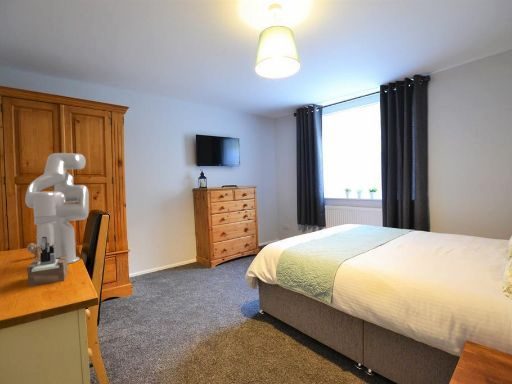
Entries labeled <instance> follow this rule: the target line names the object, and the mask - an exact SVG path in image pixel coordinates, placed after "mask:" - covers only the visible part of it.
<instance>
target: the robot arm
mask: <svg viewBox="0 0 512 384" xmlns="http://www.w3.org/2000/svg"><path fill="white" fill-rule="evenodd" d="M86 163H87V161H86V157H85V156H84V155H83V154H81V153H74V152H71V153H70V152H69V153H67V152H57V153H56V152H54V153H51V154H50V155H48V157H47V159H46V164H45V167H44V173H43V174H41V175H39V176H38V177H37V178H35V179H34V180H33V181H31V183H29V185H28V186H27V190H26V192H25V193H26V194H25V198H24V199H25V202H24V203H25V205H26V206H27V208H30V209H33V218H34V219H33V221H34V225H35V226H36V244H37V247H38V248H40V247H41V252H40V253H39V257H40V256H41V262H47V261H50V260H51V258H50V254H51V253H55V256H56V258H58V257H61V256H64V255H67V265H68V264H72V263H76V262H78V261H79V260H80V257H79V256H77V255H76V252H77V251H76V238H75V228H74V226H73V225H72V223H70V222H71V221H83V220H86V219H87V218H89V212H90V211H89V209H90V208H89V206H90V205H89V204H90V203H89V202H90V198H89V197H90V193H89V188H88V187H87V186H86V185H83V184H74V179H75V178H74V176H73V175H72V174H70V173H69V172H68V170H82V169H85V167H86V165H87V164H86ZM53 186H54V190H51V191H49V190H48V191H47V190H46V191H42V190H44V189H47V188H51V187H53Z"/></svg>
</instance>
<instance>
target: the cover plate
mask: <svg viewBox="0 0 512 384" xmlns="http://www.w3.org/2000/svg"><path fill="white" fill-rule="evenodd" d="M50 258H51V260H50V261H47V262H41V256H40V255H39V259H40V262H38V263H37V264H36V266H35V267H34V268H32V272H34V271H41V270H47V269H54V268H59V267H60V264H58V265H57V263H58V261H59V260H60V259H56V256H55V253H51V254H50Z"/></svg>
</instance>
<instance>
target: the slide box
mask: <svg viewBox="0 0 512 384" xmlns="http://www.w3.org/2000/svg"><path fill="white" fill-rule="evenodd" d="M56 259H60V260H59V261H58V263H57V265H58V264H60V267H59V268H54V269H47V270H41V271H34V272H32V268H34V267H35V266H36V264H37V263H38V262H40V258H34V259H33V261H31V263H30V264H29V265H28V266H27V268H26V274H27V286H28V287H30V288H31V287H35V286H40V285H46V284H53V283H59V282H64V281H65V280H66V277H67V274H68V273H69V268H68V264H67V255H64V256H61V257H58V258H56Z"/></svg>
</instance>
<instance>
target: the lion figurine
mask: <svg viewBox="0 0 512 384" xmlns="http://www.w3.org/2000/svg"><path fill="white" fill-rule="evenodd" d="M26 250H27V252H29V253H30V254H32V255H34V256H33V258H34V259H40V253H41V247H40V248H38V247H37V243H32V242H31V243H29V244H28V245H27V246H26Z"/></svg>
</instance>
